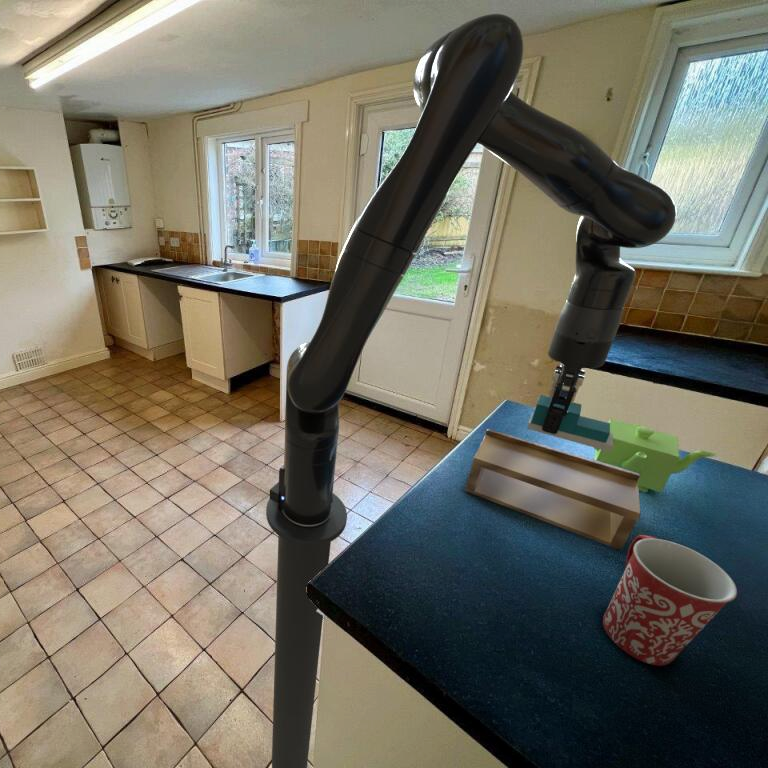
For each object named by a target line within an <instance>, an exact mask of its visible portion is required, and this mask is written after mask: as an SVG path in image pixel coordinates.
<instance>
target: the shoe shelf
mask: <svg viewBox="0 0 768 768" xmlns="http://www.w3.org/2000/svg"><path fill="white" fill-rule="evenodd" d="M639 477H640V474H639V473H636V472H633V471H630V470H626V469H623V468H619V467H616V466H613V465H609V464H606V463H603V462H599V461H596V460H594V459H593V458H589V457H585V456H582V455H579V454H576V453H572V452H569V451H565V450H562V449H558V448H555V447H552V446H549V445H545V444H541V443H539V442H534V441H531V440H528V439H524V438H521V437H517V436H514V435H511V434H508V433H504V432H501V431H498V430H494V429H491V428H487V429H486V433H485V435H484V436H483V439H482V441H481V443H480V445H479V447H478V449H477V450H476V453H475V455H474V457H473V460H472V465H471V468H470V472H469V475H468V478H467V481H466V485H465V489H464V491H465V492H466V493H469V494H471V495H475V496H476V497H480V498H483V499H485V500H488V501H489V502H493V503H495V504H497V505H501V506H503V507H506V508H507V509H511V510H514V511H516V512H519V513H521V514H524V515H527V516H529V517H531V518H534V519H537V520H540V521H542V522H545V523H547V524H550V525H552V526H556V527H558V528H560V529H563V530H566V531H568V532H571V533H574V534H577V535H578V536H582V537H584V538H587V539H588V540H589V539H590V540H591V541H595V542H598V543H600V544H602V545H605V546H608V547H610V548H613V549H615V550H618V551H622V550H623V548H624V546H625V544H626V542H627V540H628V538H629V536H630V535H631V533H632V531H633V529H634V527H635V526H636V523H637V521H638V520H639V518H640V515H641V503H640V493H639V491H640V490H638V479H639Z"/></svg>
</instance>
